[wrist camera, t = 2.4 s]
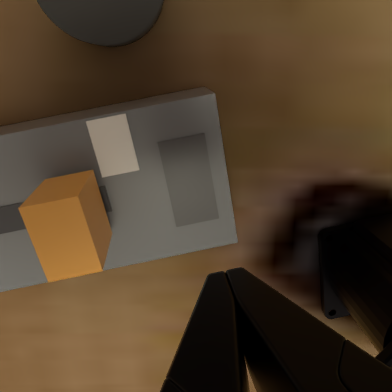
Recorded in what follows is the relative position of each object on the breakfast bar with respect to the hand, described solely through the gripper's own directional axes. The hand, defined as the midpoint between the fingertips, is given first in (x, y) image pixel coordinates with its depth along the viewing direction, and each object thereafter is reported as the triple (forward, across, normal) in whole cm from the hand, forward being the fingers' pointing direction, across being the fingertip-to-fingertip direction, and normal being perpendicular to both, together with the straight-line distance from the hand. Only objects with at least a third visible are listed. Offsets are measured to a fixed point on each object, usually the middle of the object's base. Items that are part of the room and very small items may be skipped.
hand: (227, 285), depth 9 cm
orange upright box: (+7, +5, 0) cm, 9 cm away
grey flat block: (+11, +8, 0) cm, 14 cm away
